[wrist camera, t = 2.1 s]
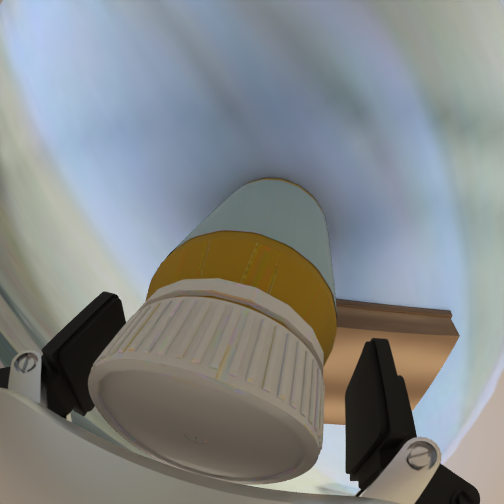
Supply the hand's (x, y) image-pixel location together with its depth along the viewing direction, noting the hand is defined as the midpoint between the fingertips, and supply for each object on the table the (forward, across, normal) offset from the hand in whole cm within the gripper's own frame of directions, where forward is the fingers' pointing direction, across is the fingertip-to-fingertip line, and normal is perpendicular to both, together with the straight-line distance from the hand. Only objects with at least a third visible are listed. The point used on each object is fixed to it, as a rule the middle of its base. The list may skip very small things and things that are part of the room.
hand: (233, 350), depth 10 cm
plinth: (+11, -9, +10) cm, 17 cm away
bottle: (+11, 0, -1) cm, 11 cm away
